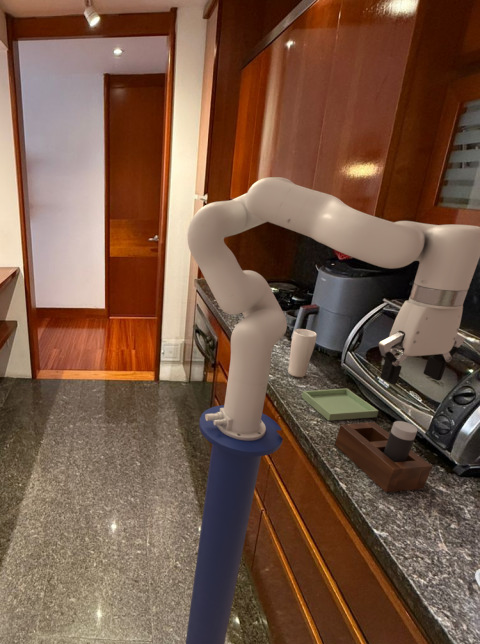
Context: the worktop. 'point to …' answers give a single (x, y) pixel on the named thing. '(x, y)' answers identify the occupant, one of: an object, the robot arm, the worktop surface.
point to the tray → (339, 404)
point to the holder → (381, 458)
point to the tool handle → (400, 441)
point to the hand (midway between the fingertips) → (409, 379)
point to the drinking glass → (301, 351)
